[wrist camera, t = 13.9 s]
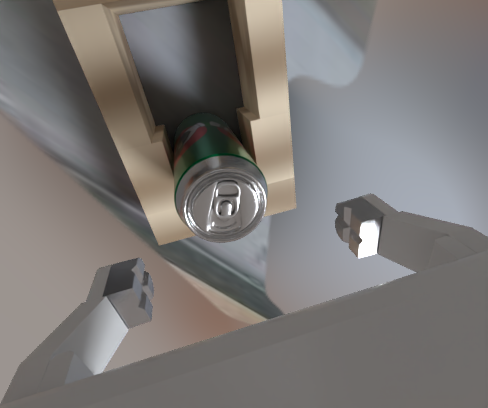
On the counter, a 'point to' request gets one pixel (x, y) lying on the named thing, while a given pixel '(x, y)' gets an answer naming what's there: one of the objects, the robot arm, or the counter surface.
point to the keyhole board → (155, 137)
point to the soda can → (216, 181)
